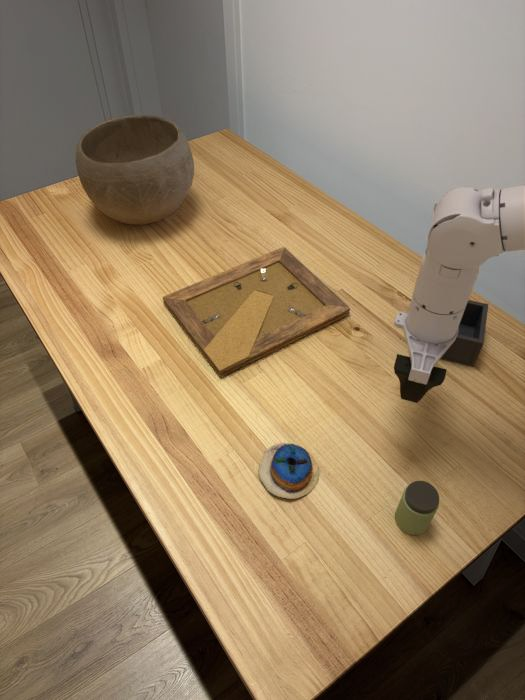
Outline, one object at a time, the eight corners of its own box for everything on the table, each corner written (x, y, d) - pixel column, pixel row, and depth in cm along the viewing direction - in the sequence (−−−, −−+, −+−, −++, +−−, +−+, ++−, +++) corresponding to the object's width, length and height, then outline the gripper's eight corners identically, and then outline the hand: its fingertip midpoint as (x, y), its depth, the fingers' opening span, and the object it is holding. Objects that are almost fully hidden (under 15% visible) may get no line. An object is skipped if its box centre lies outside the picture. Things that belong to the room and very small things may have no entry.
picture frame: (220, 378, 80) (349, 315, 88) (219, 370, 78) (350, 306, 87) (163, 303, 90) (283, 253, 98) (161, 295, 89) (284, 245, 97)
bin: (478, 327, 86) (488, 304, 82) (473, 367, 81) (483, 343, 77) (424, 315, 88) (431, 291, 84) (415, 352, 83) (422, 329, 79)
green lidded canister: (431, 509, 66) (443, 485, 62) (426, 540, 64) (438, 517, 59) (398, 498, 67) (407, 474, 62) (391, 528, 64) (401, 505, 60)
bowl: (72, 203, 109) (50, 130, 98) (164, 169, 117) (153, 98, 106) (121, 257, 98) (102, 181, 87) (219, 215, 106) (213, 141, 95)
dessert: (327, 495, 66) (299, 474, 63) (282, 514, 69) (253, 496, 65) (317, 441, 72) (291, 419, 69) (276, 461, 75) (249, 441, 71)
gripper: (414, 249, 65) (394, 329, 75) (390, 333, 56) (371, 411, 66) (475, 261, 63) (446, 341, 74) (461, 351, 54) (430, 428, 65)
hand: (414, 375), depth 70 cm, fingers open, 7 cm apart
